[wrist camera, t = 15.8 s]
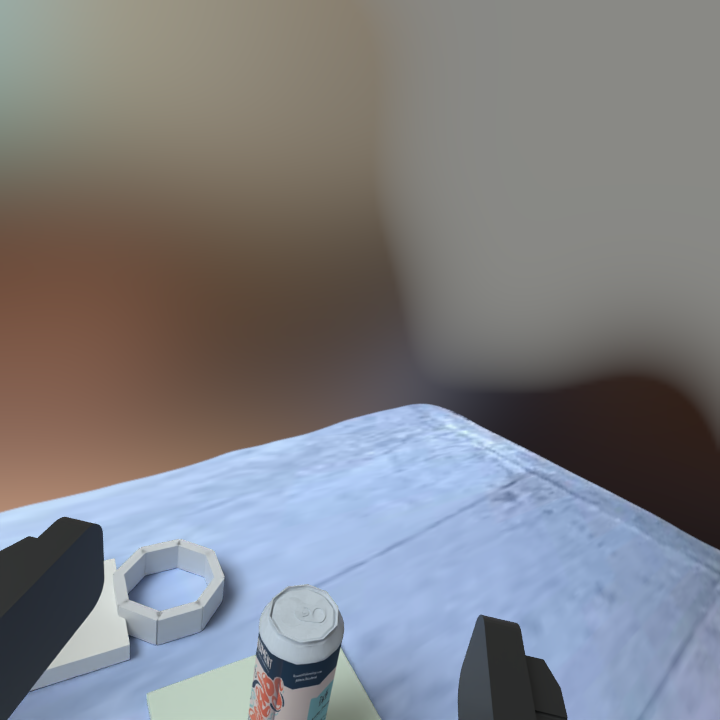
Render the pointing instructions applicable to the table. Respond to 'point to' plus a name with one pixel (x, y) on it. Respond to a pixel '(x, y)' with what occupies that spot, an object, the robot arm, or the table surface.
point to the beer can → (296, 655)
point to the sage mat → (249, 695)
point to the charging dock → (138, 610)
